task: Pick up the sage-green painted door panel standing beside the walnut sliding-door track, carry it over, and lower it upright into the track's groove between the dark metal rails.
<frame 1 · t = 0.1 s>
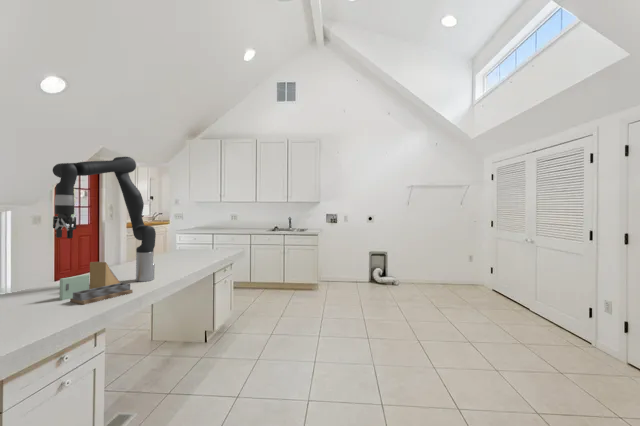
hand: (64, 237, 161), 29 cm above the counter, tool pointing down, fingers open, 8 cm apart
door track: (103, 297, 163), on the counter
door panel: (74, 297, 163), on the counter
sandwich container: (106, 287, 185), on the counter
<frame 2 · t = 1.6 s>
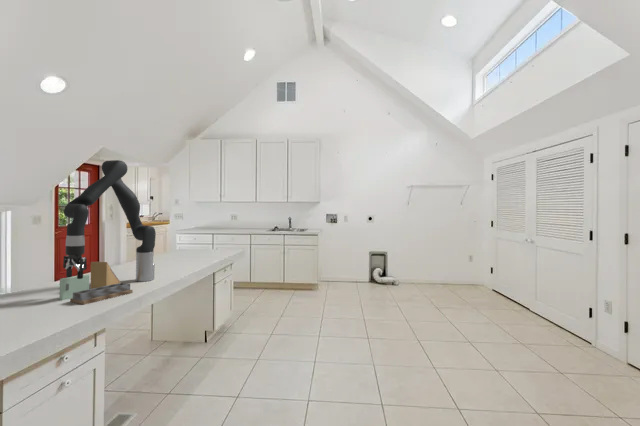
hand: (74, 277, 162), 9 cm above the counter, tool pointing down, fingers open, 8 cm apart
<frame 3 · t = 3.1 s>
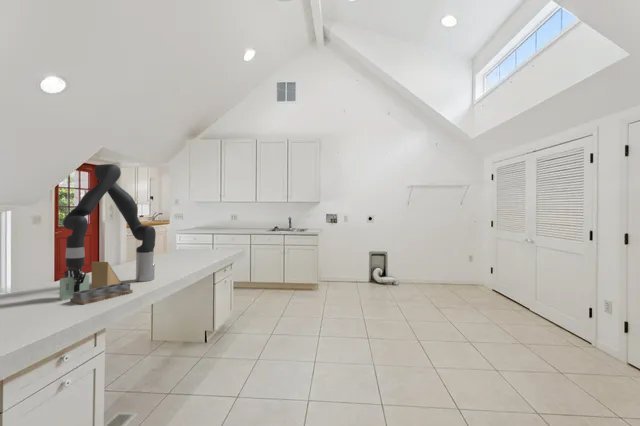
hand: (74, 291, 163), 3 cm above the counter, tool pointing down, fingers closed on door panel, 2 cm apart
door panel: (74, 297, 163), on the counter, touching gripper
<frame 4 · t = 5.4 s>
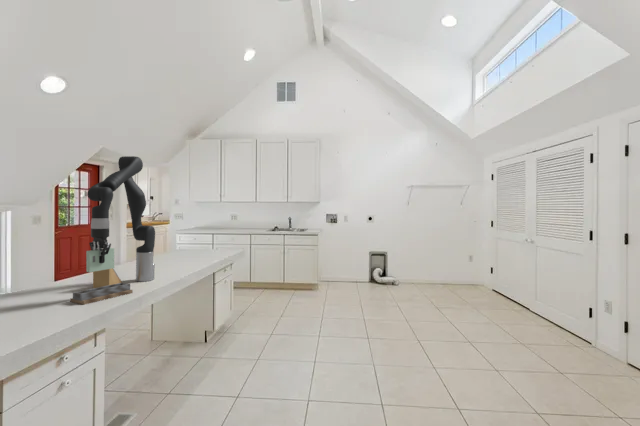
hand: (99, 262, 163), 17 cm above the counter, tool pointing down, fingers closed on door panel
door panel: (100, 269, 164), point 13 cm above the counter, touching gripper
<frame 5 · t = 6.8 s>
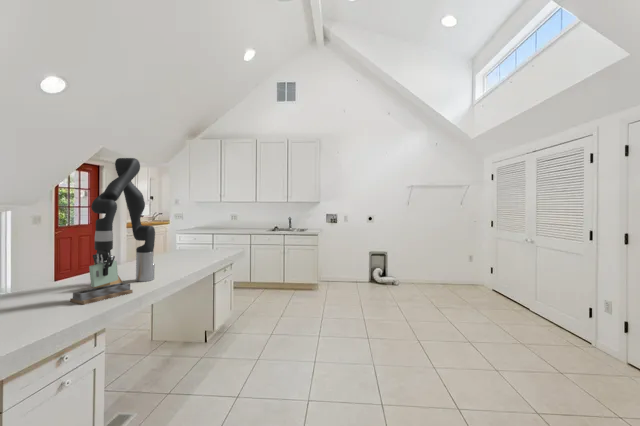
hand: (103, 275, 163), 11 cm above the counter, tool pointing down, fingers closed on door panel
door panel: (105, 283, 164), point 7 cm above the counter, tilted 6°, touching gripper
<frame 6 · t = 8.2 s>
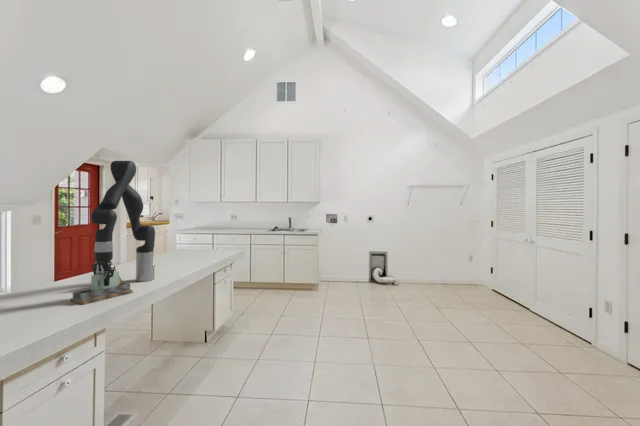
hand: (103, 285, 163), 6 cm above the counter, tool pointing down, fingers open, 4 cm apart
door panel: (105, 293, 164), point 1 cm above the counter, touching door track
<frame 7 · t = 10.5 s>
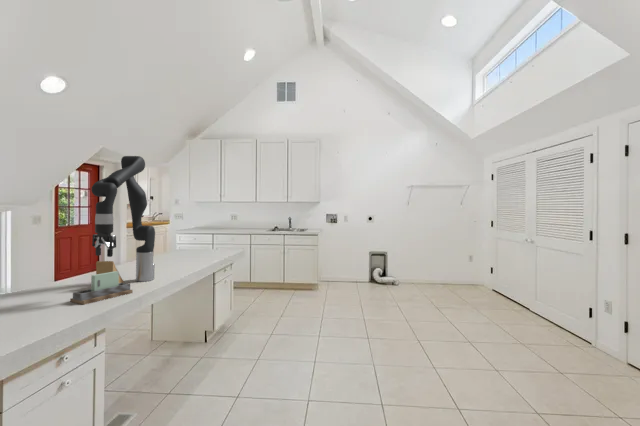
hand: (103, 256, 164), 20 cm above the counter, tool pointing down, fingers open, 8 cm apart
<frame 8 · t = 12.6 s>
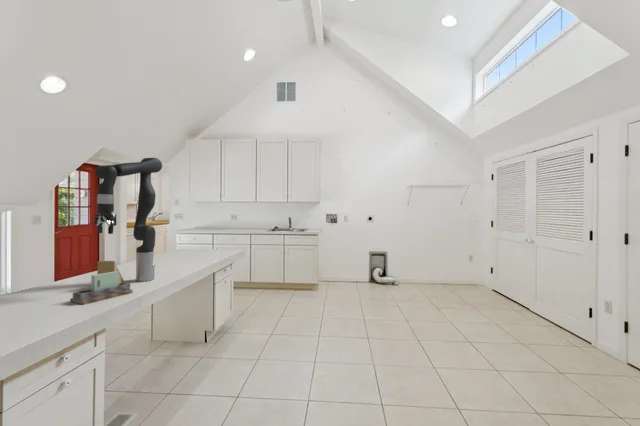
hand: (105, 233, 178), 30 cm above the counter, tool pointing down, fingers open, 8 cm apart
at the end: door panel inside the target area on the door track (1.0 cm from its centre), point 1.5 cm above the door track's base; door panel tilted 0°; the gripper is holding nothing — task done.
